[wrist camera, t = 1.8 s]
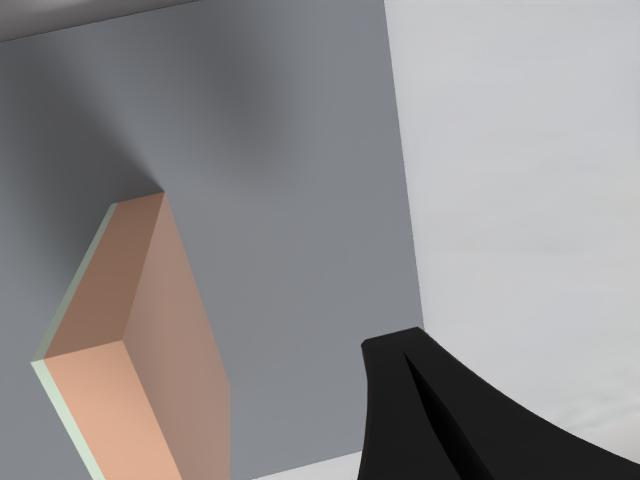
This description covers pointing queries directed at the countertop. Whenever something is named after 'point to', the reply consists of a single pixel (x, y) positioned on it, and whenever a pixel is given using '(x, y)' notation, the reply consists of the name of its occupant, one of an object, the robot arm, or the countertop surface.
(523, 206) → the countertop surface
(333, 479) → the countertop surface
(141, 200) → the tile
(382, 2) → the mat
